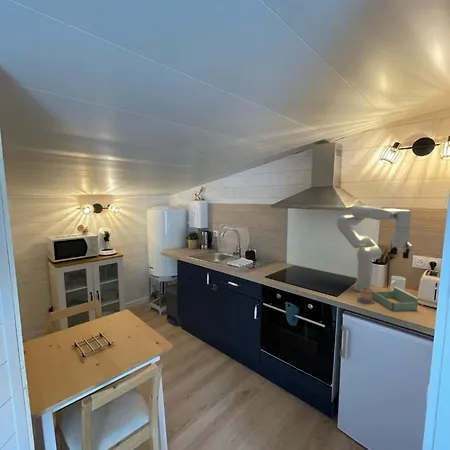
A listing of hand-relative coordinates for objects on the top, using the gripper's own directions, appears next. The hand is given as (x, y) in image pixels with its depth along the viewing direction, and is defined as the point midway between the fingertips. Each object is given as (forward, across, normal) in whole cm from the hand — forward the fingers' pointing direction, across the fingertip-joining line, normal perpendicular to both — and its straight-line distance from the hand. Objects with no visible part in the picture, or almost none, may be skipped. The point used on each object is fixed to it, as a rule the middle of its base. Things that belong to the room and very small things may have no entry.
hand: (399, 256), depth 167 cm
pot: (+30, -3, -18) cm, 35 cm away
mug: (+31, -16, +12) cm, 36 cm away
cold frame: (+30, +2, -3) cm, 31 cm away
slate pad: (+30, -3, -18) cm, 35 cm away
